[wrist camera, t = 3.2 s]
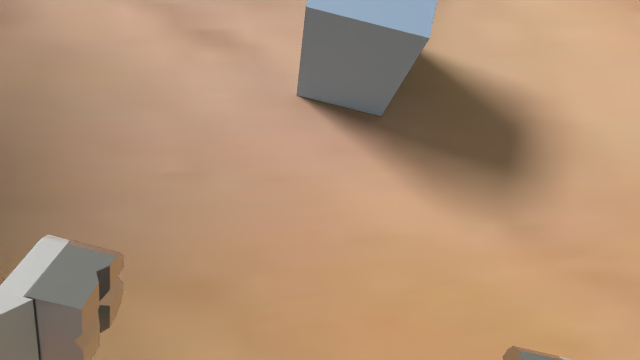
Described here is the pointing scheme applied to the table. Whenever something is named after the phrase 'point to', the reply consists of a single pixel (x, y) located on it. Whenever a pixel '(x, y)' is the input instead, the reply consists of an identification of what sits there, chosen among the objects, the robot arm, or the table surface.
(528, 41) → the table surface
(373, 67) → the pillar
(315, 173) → the table surface
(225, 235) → the table surface
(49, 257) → the robot arm
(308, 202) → the table surface
